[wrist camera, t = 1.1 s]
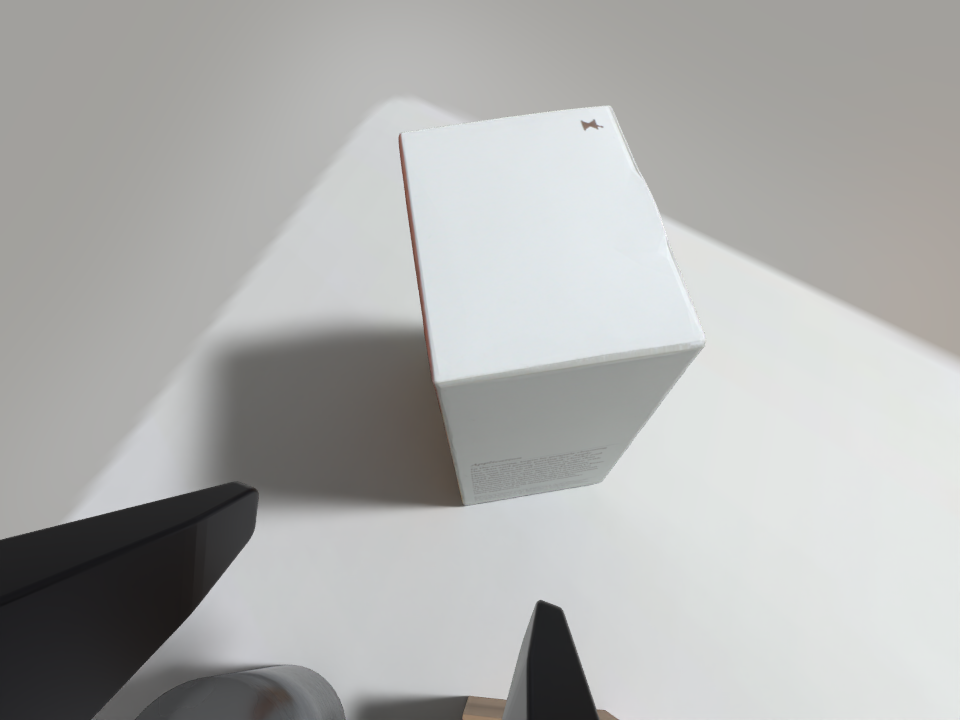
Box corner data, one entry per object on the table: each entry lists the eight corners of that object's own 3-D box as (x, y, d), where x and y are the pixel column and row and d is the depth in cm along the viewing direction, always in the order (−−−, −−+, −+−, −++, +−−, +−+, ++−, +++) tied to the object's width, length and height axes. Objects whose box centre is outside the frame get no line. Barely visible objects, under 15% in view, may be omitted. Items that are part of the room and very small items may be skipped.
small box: (436, 347, 26) (394, 124, 15) (561, 328, 27) (615, 96, 15) (460, 512, 23) (429, 386, 11) (604, 486, 23) (720, 341, 12)
